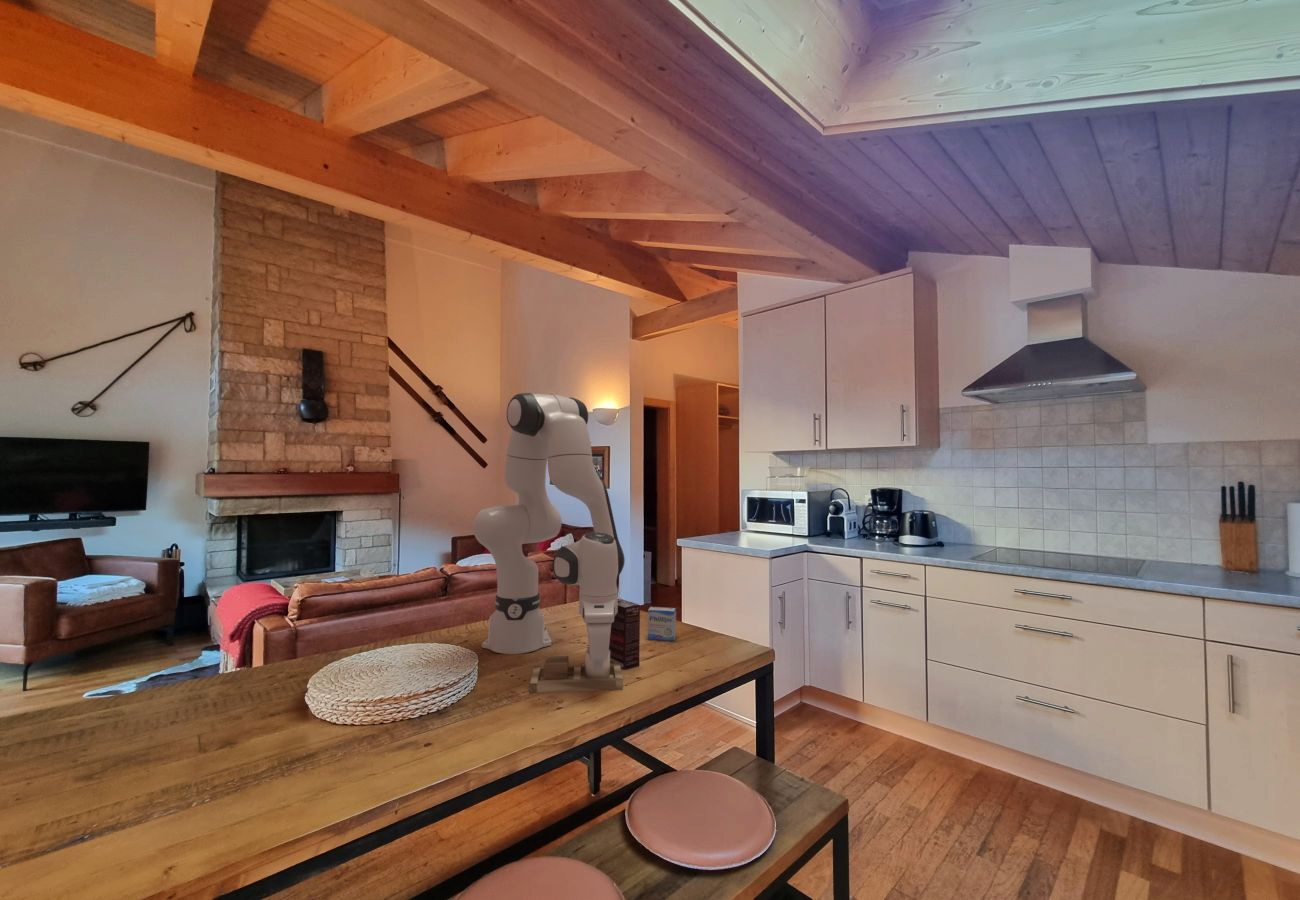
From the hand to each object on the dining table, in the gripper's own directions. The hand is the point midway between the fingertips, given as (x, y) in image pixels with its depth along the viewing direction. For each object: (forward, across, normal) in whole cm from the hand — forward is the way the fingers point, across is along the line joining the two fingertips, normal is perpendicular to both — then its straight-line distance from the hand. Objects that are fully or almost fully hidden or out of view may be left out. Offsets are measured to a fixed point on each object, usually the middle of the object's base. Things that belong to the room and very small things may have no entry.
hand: (597, 666), depth 120 cm
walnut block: (+3, 0, -9) cm, 10 cm away
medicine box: (+5, -32, +19) cm, 38 cm away
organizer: (+4, 0, -4) cm, 6 cm away
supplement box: (+4, -11, +6) cm, 13 cm away
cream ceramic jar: (+2, 0, 0) cm, 2 cm away
